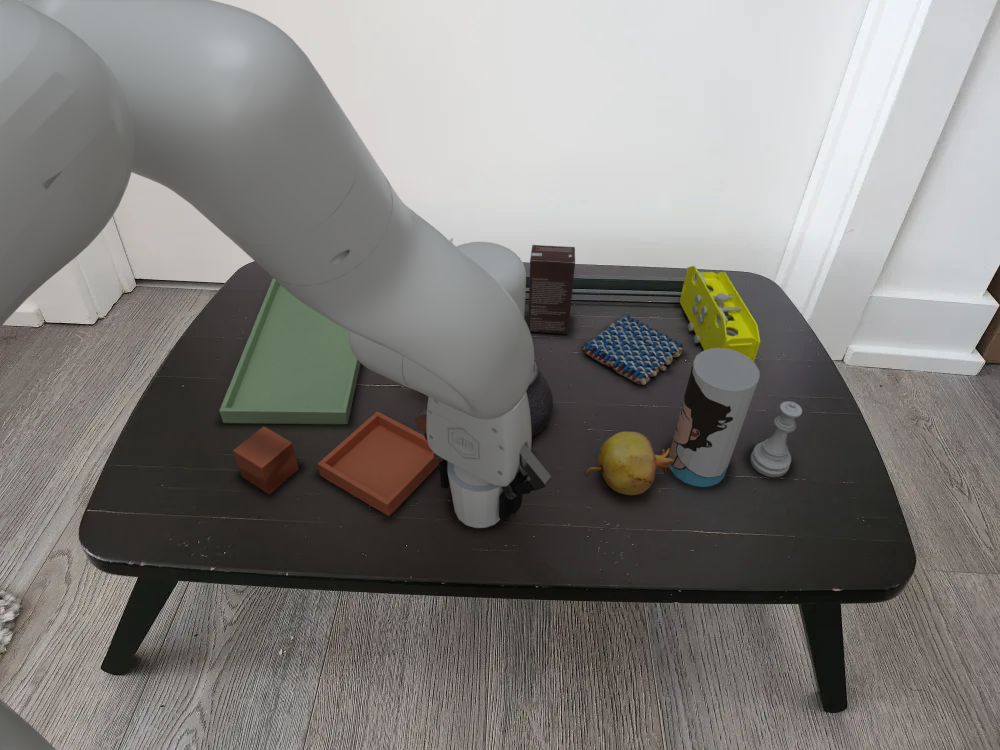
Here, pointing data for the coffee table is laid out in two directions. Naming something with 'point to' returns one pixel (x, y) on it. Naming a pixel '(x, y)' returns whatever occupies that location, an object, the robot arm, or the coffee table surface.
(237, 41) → the robot arm
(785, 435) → the chess piece
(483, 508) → the grey tapered cup
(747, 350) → the yellow toy chassis
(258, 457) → the block
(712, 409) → the grey printed cylindrical canister
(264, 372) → the sage tray
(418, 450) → the terracotta tray
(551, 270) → the box
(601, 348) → the woven mat
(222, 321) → the coffee table surface
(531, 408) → the teapot
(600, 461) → the fruit
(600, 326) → the coffee table surface
